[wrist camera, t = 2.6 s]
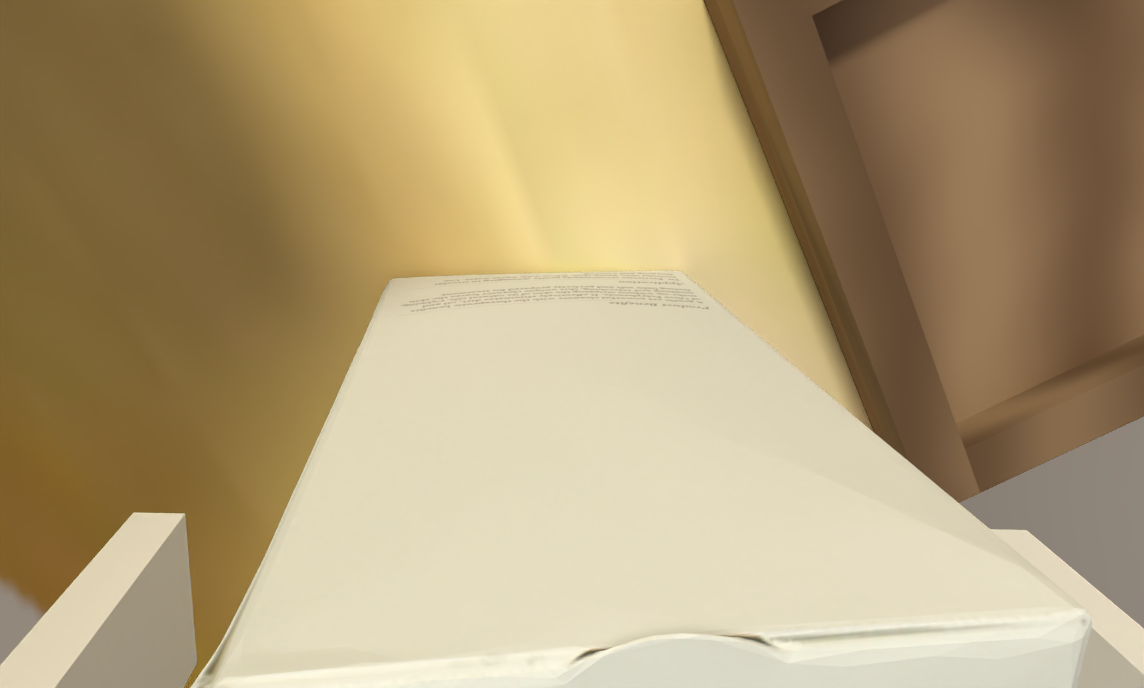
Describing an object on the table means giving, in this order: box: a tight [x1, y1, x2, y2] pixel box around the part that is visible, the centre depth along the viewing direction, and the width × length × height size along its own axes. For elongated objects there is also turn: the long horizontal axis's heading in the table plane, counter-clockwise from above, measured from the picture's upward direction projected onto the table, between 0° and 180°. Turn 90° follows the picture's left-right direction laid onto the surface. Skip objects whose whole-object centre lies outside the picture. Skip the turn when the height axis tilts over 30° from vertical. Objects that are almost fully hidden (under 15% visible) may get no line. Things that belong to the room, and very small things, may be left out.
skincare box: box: [191, 271, 1092, 688], centre depth 15 cm, size 8×7×16 cm
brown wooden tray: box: [704, 0, 1144, 503], centre depth 21 cm, size 14×15×2 cm
